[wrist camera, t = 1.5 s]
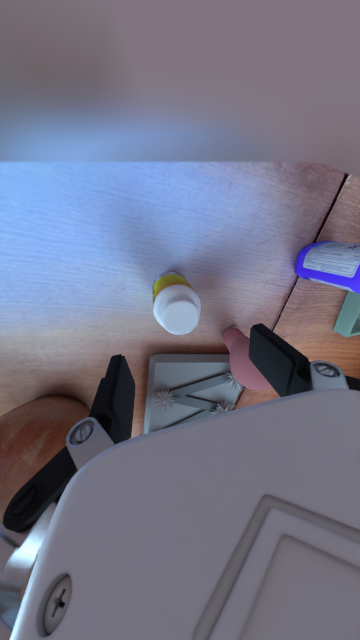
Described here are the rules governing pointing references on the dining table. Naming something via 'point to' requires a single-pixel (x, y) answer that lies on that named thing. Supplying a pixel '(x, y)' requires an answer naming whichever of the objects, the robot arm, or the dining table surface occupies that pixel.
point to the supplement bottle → (175, 303)
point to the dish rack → (349, 316)
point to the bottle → (331, 264)
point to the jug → (33, 439)
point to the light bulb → (243, 360)
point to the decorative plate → (188, 389)
